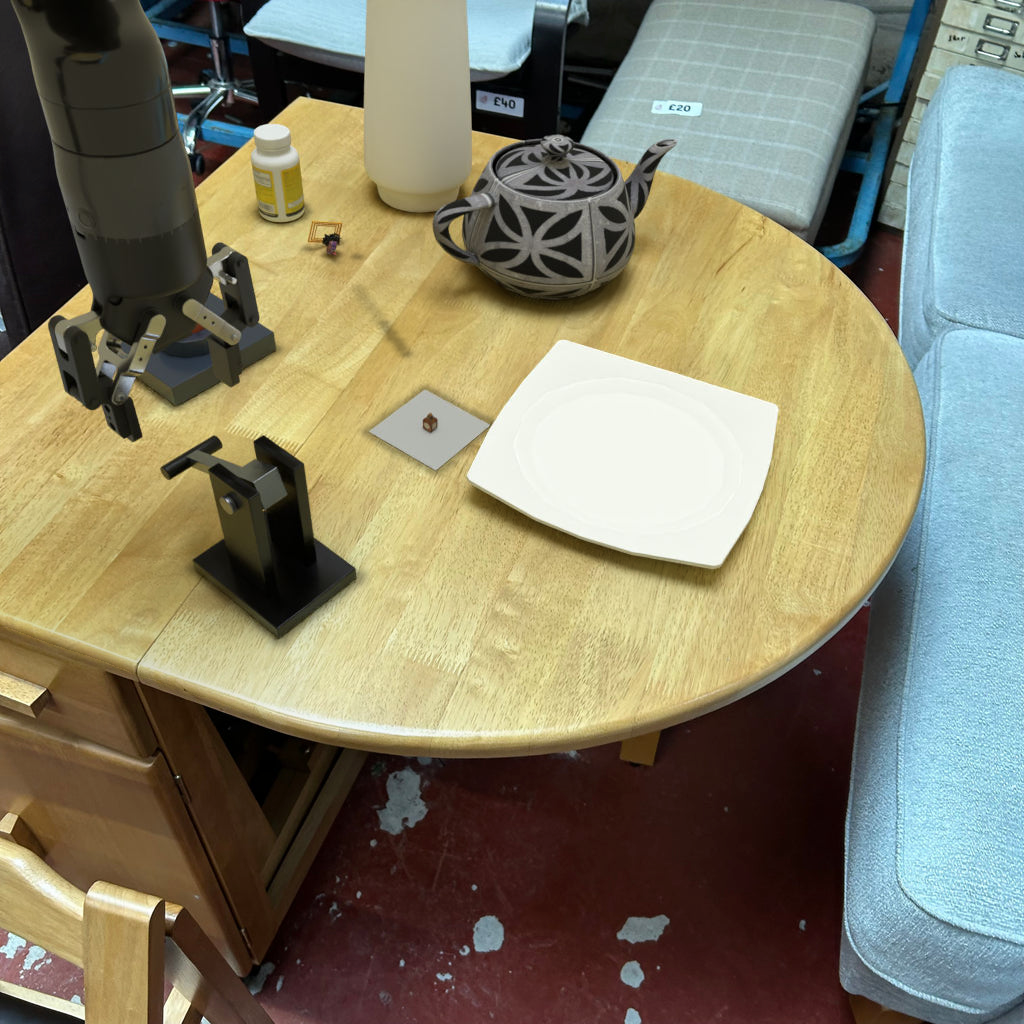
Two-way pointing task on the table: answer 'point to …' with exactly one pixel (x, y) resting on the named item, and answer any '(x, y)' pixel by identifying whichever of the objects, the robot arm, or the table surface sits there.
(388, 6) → the vase
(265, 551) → the lever bracket
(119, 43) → the robot arm
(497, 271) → the teapot
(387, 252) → the table surface
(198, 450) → the press lever
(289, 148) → the supplement bottle
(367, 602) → the table surface
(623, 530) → the plate
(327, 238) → the figurine with orange frame
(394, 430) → the grey square pad
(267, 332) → the button box
